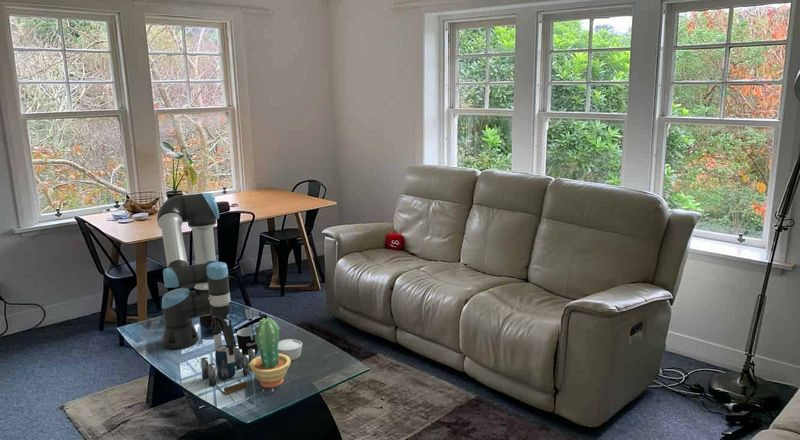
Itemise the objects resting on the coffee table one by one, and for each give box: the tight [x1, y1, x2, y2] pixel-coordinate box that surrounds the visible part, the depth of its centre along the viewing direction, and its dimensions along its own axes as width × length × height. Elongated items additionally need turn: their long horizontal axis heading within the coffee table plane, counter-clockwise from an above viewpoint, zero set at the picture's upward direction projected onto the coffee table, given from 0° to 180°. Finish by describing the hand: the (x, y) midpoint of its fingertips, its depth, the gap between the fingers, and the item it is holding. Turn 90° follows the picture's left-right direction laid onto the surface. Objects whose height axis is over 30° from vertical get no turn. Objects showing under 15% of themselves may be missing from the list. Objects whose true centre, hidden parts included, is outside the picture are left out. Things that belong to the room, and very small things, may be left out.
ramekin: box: [278, 338, 303, 361], centre depth 253 cm, size 11×11×5 cm
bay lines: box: [216, 384, 225, 395], centre depth 229 cm, size 7×9×1 cm
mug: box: [236, 326, 259, 356], centre depth 255 cm, size 12×9×10 cm
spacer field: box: [200, 344, 256, 387], centre depth 238 cm, size 13×20×8 cm, turn 126°
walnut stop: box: [223, 380, 249, 396], centre depth 225 cm, size 1×8×2 cm, turn 125°
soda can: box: [214, 344, 236, 381], centre depth 235 cm, size 7×7×12 cm
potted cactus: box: [249, 317, 292, 388], centre depth 229 cm, size 15×15×25 cm
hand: (224, 356), depth 234 cm, fingers open, 13 cm apart
